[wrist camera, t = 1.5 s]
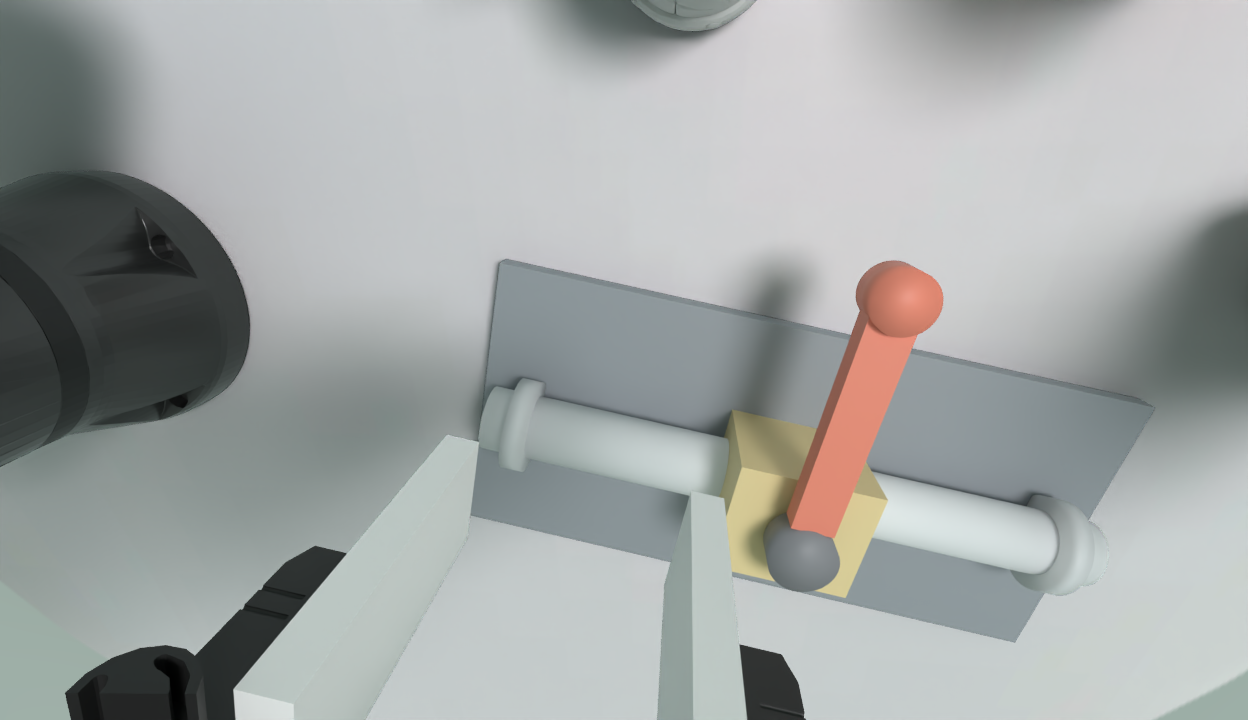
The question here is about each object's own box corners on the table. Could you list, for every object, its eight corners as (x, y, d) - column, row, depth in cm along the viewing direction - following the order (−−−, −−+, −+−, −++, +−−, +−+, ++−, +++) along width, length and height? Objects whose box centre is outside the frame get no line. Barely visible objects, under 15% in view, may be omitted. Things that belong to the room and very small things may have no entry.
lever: (818, 570, 28) (827, 600, 27) (755, 555, 29) (759, 584, 27) (940, 269, 23) (962, 280, 21) (861, 252, 23) (876, 262, 21)
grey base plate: (475, 504, 39) (428, 584, 32) (506, 258, 33) (455, 289, 26) (1005, 627, 38) (1078, 738, 31) (1138, 398, 32) (1269, 471, 25)
